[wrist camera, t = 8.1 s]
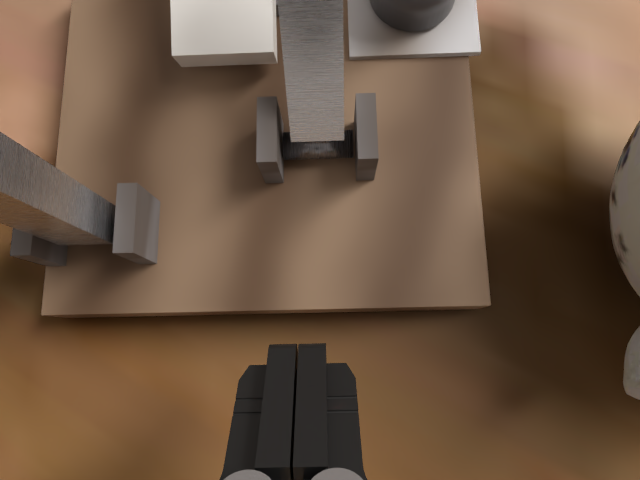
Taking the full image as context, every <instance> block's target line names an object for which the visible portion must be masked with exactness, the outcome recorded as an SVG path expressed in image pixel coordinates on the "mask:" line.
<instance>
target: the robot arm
mask: <svg viewBox="0 0 640 480" xmlns="http://www.w3.org/2000/svg"><path fill="white" fill-rule="evenodd" d="M220 480H367V478H366V476H365V473H364V470H363V462H362V451H361V439H360V427H359V415H358V403H357V391H356V379H355V377H354V375H353V373H352V372H351V370H350V368H349V367H348V365H347V364H346V363H328V364H326V343H320V344H299V347H298V350H297V344H275V345H269V349H268V358H267V365H249V367H248V368H247V370H246V371H245V373H244V374H243V375H242V377H241V378H240V380H239V383H238V388H237V394H236V402H235V406H234V411H233V417H232V423H231V428H230V434H229V440H228V446H227V451H226V457H225V463H224V468H223V472H222V475H221V477H220Z"/></svg>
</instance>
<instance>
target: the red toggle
mask: <svg viewBox="0 0 640 480" xmlns="http://www.w3.org/2000/svg"><path fill="white" fill-rule="evenodd" d="M278 10H279V21H280V32H281V42H282V53H283V63H284V74H285V85H286V95H287V106H288V117H289V127H290V132H283V135H282V146H283V157H284V160H302V159H334V158H354V138H353V130H344V51H343V0H278Z"/></svg>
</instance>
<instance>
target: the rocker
mask: <svg viewBox="0 0 640 480" xmlns="http://www.w3.org/2000/svg"><path fill="white" fill-rule="evenodd" d="M170 7H171V48H172V57H173V58H174V59H175V60H176V61H177V62H178V64H179V65H180V66H181V67H198V66H225V65H252V64H277V27H276V0H170Z"/></svg>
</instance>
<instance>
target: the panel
mask: <svg viewBox="0 0 640 480" xmlns="http://www.w3.org/2000/svg"><path fill="white" fill-rule="evenodd" d="M276 27H277V64H252V65H225V66H198V67H181V66H180V65H179V64H178V62H177V61H176V60H175V59H174V58H173V57H172V48H171V7H170V0H72V5H71V15H70V25H69V35H68V45H67V55H66V66H65V76H64V86H63V96H62V106H61V117H60V127H59V137H58V147H57V157H56V168H57V169H59V170H60V171H62V172H64V173H65V174H67V175H68V176H70V177H71V178H73V179H74V180H76V181H78V182H79V183H81V184H82V185H84V186H85V187H87V188H89V189H90V190H92V191H93V192H95V193H96V194H98V195H99V196H101V197H103V198H104V199H106V200H107V201H109V202H110V203H112V204H113V205H115V206H116V209H115V223H114V237H113V244H91V245H58V244H55V243H52V242H50V241H47V240H44V239H42V238H39V237H36V236H34V235H31V234H28V233H26V232H23V231H20V230H17V229H15V228H13V233H12V241H11V250H10V256H13V257H16V258H20V259H23V260H27V261H30V262H34V263H37V264H41V265H44V266H46V269H45V280H44V290H43V300H42V310H41V315H43V316H52V317H61V318H92V317H138V316H184V315H231V314H277V313H323V312H370V311H416V310H463V309H480V308H484V307H487V306H491V300H490V289H489V278H488V267H487V256H486V245H485V234H484V223H483V212H482V201H481V190H480V179H479V168H478V156H477V145H476V134H475V123H474V112H473V101H472V90H471V79H470V68H469V57H468V56H479V55H480V53H481V46H480V35H479V25H478V15H477V4H476V0H455V2H454V5H453V8H452V10H451V12H450V13H449V15H448V16H447V17H446V18H445V19H444V20H443V21H442V22H441V23H439V24H437V25H436V26H434V27H432V28H429V29H426V30H422V31H403V30H399V29H396V28H394V27H391V26H389V25H388V24H386V23H385V22H383V21H382V20H381V19H380V18H379V17H378V16H377V15H376V13H375V12H374V10H373V8H372V6H371V3H370V0H343V51H344V130H353V138H354V158H334V159H302V160H284V157H283V146H282V135H283V132H290V127H289V117H288V106H287V95H286V85H285V74H284V63H283V53H282V42H281V32H280V21H279V10H278V0H276Z"/></svg>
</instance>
